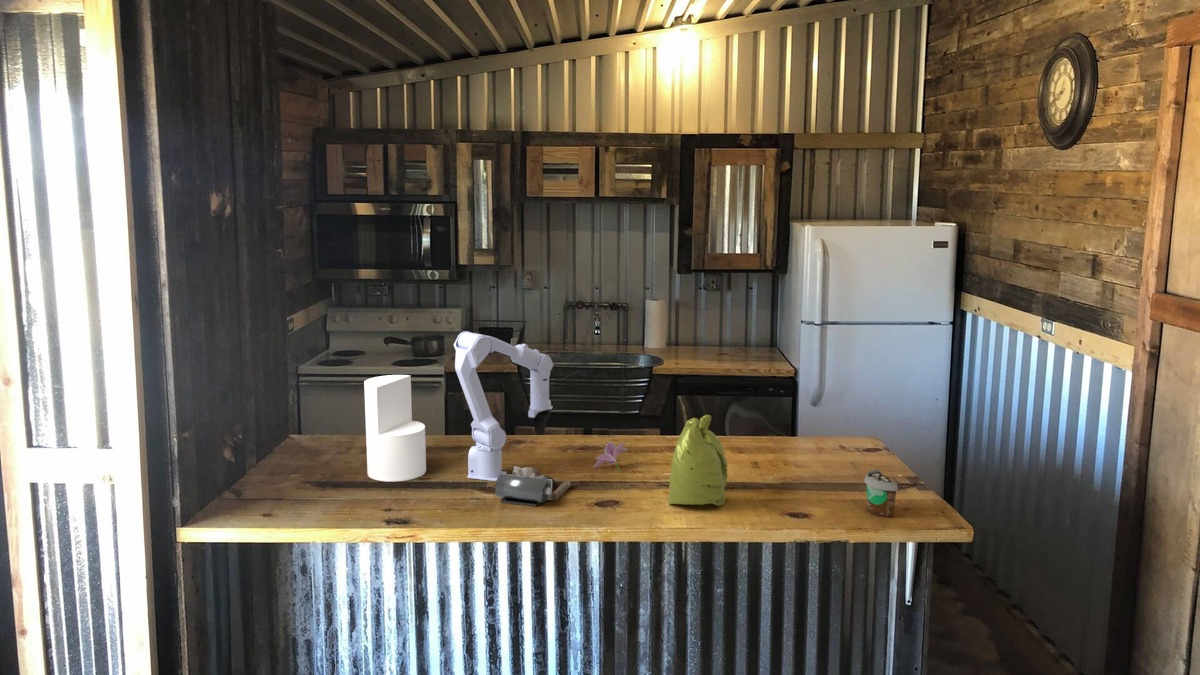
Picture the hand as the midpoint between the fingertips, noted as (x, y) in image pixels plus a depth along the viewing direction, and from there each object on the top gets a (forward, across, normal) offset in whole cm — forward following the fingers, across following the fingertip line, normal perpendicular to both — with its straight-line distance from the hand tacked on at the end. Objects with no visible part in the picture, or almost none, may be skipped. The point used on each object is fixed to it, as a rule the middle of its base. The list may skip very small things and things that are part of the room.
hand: (539, 434), depth 281 cm
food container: (+10, -10, -100) cm, 101 cm away
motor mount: (+9, -26, -7) cm, 29 cm away
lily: (+10, +2, -22) cm, 25 cm away
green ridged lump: (+10, -13, -52) cm, 55 cm away
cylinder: (+10, -21, +38) cm, 44 cm away
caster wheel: (+10, -23, -7) cm, 26 cm away
